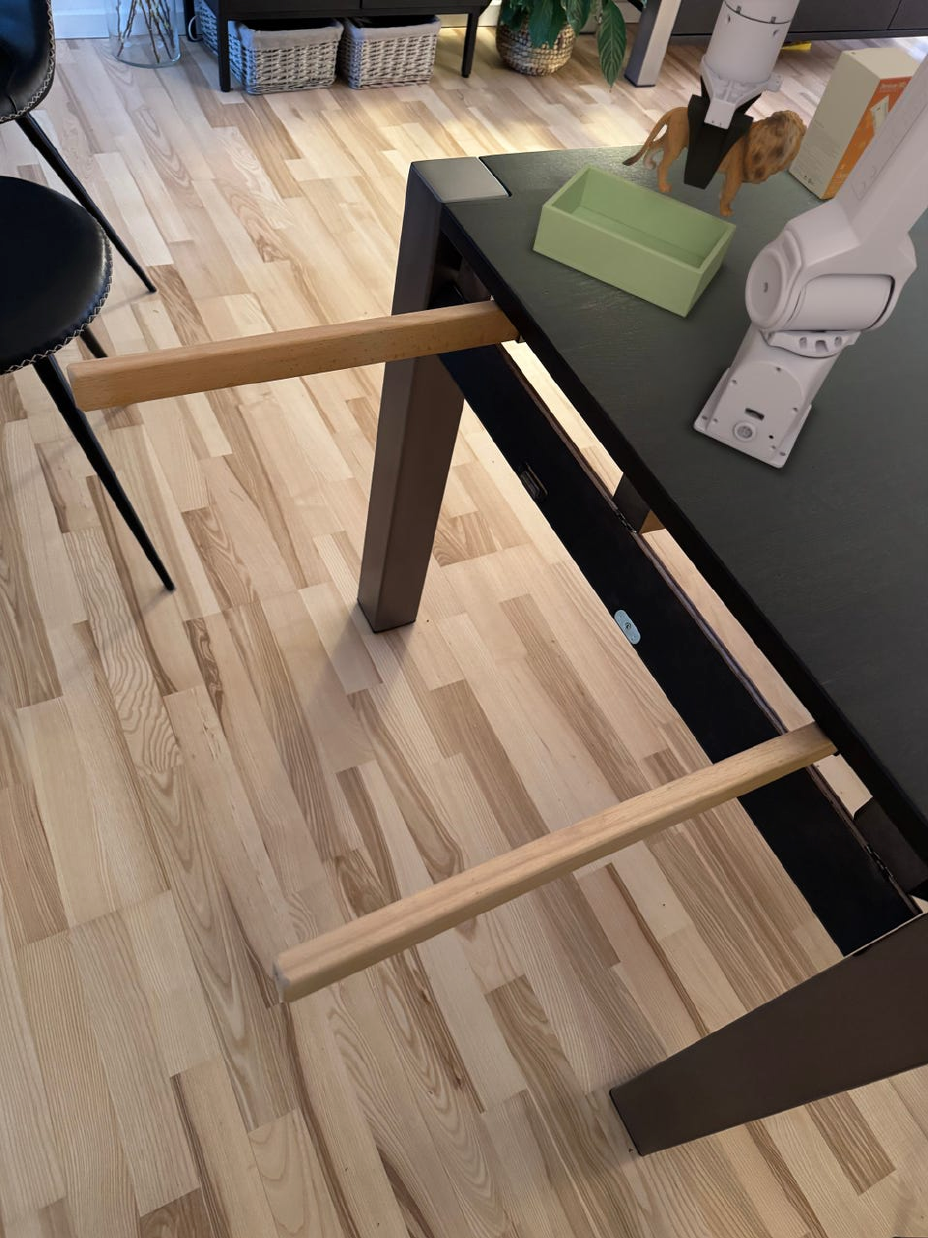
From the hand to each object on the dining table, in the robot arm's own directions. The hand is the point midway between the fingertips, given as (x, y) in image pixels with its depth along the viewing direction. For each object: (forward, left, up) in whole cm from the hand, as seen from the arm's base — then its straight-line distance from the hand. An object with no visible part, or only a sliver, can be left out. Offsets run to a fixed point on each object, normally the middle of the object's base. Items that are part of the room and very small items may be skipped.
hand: (699, 172), depth 83 cm
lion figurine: (0, -1, -2) cm, 2 cm away
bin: (-4, +3, -8) cm, 10 cm away
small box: (+27, -10, -8) cm, 30 cm away
